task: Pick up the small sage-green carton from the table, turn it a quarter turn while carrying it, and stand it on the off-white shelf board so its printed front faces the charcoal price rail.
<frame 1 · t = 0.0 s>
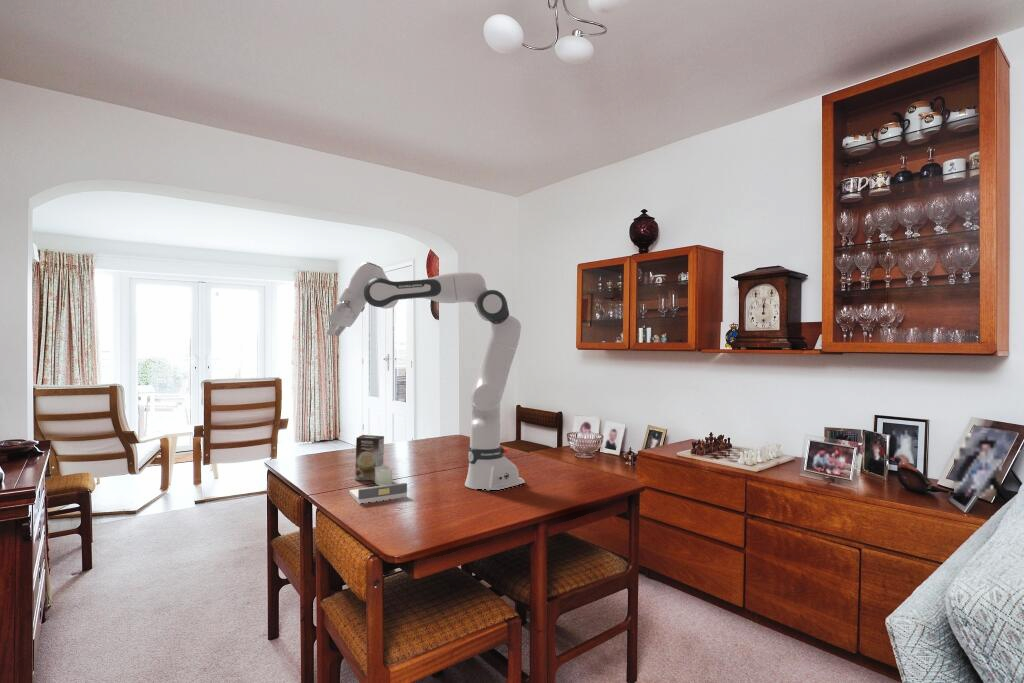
hand: (332, 335, 184), 54 cm above the table, tool tilted 30°, fingers open, 8 cm apart
carton: (383, 484, 186), on the table
coffee box: (369, 479, 194), on the table
shelf board: (377, 495, 172), on the table
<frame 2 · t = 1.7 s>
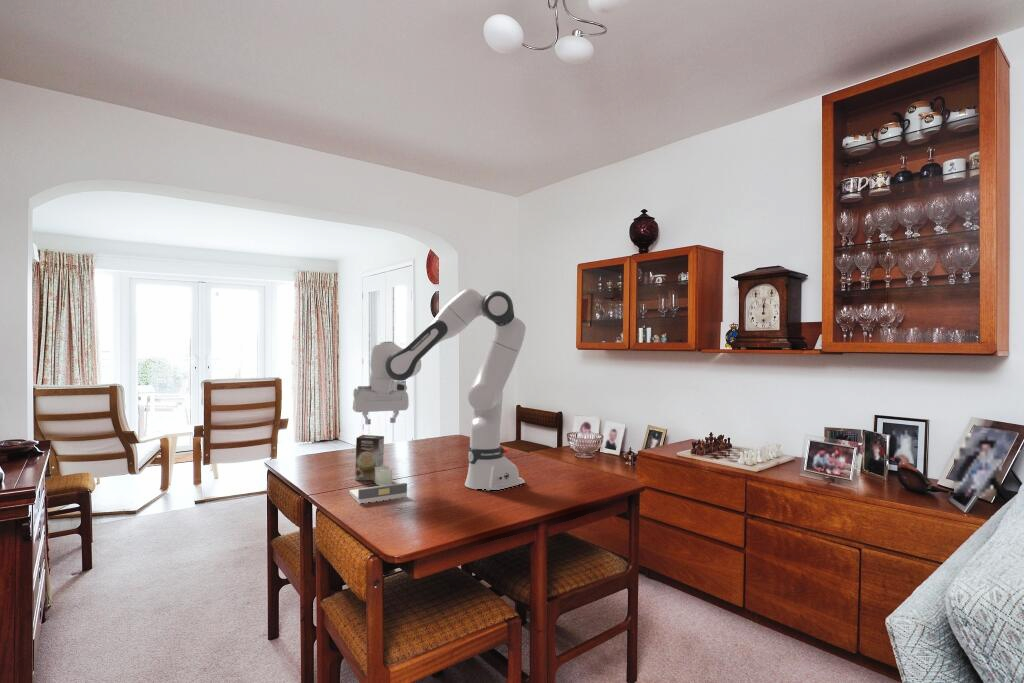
hand: (380, 423, 186), 22 cm above the table, tool pointing down, fingers open, 8 cm apart
nothing on the table moved.
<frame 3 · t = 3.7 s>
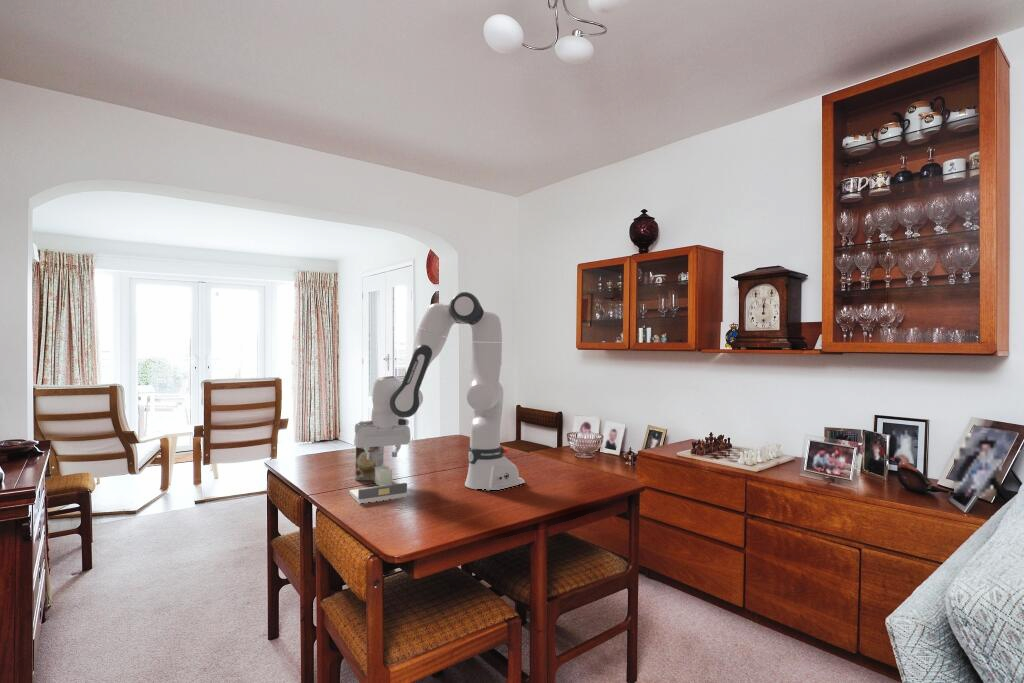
hand: (382, 458, 186), 10 cm above the table, tool pointing down, fingers open, 8 cm apart
nothing on the table moved.
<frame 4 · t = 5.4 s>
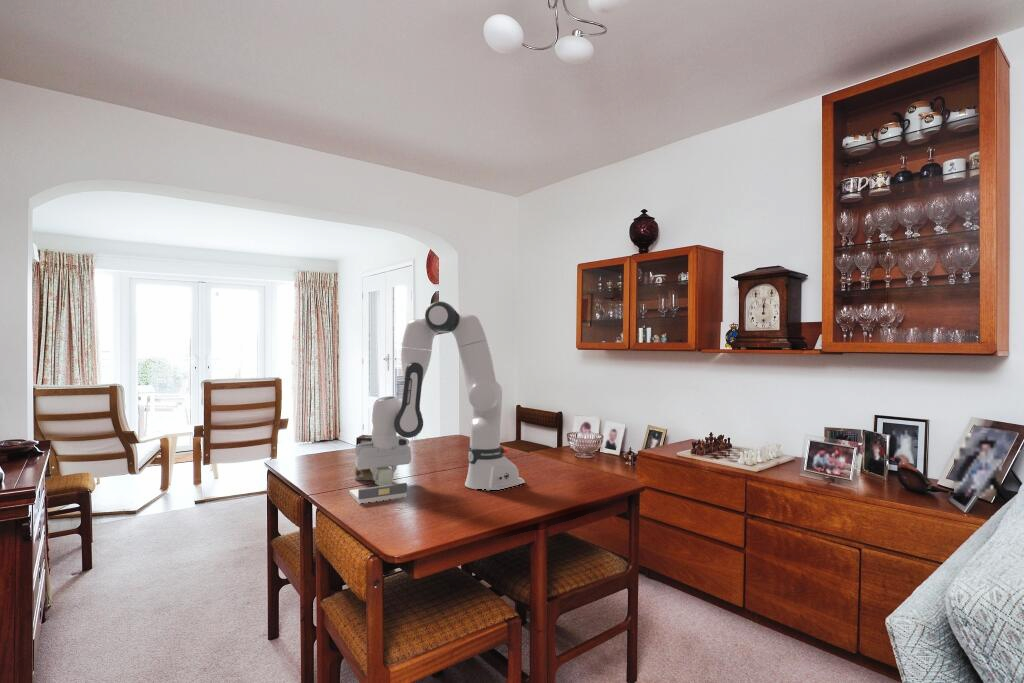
hand: (383, 478, 186), 2 cm above the table, tool pointing down, fingers closed on carton, 4 cm apart
carton: (383, 484, 186), on the table, touching gripper
everything else where it was.
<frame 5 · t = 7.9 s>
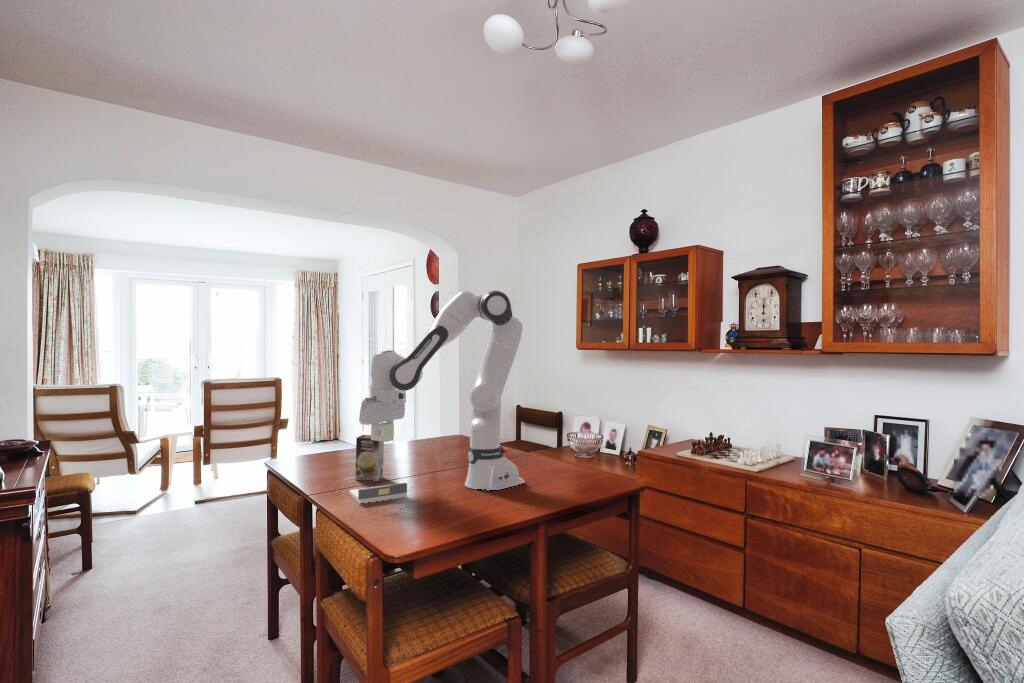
hand: (382, 434, 182), 19 cm above the table, tool pointing down, fingers closed on carton, 4 cm apart
carton: (382, 440, 182), point 17 cm above the table, touching gripper
everything else where it was.
when the fingers open (5 cm above the table, at t = 10.6 s): carton stays where it is, resting on shelf board.
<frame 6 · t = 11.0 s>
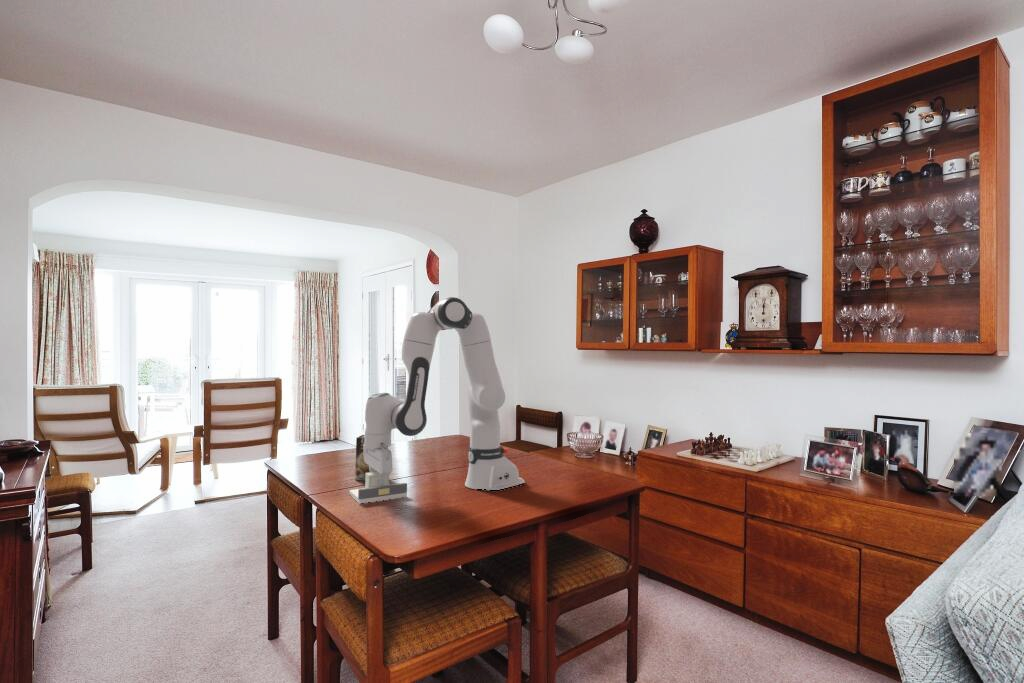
hand: (377, 481, 173), 5 cm above the table, tool pointing down, fingers open, 8 cm apart
carton: (377, 490, 173), point 1 cm above the table, touching shelf board
everything else where it was.
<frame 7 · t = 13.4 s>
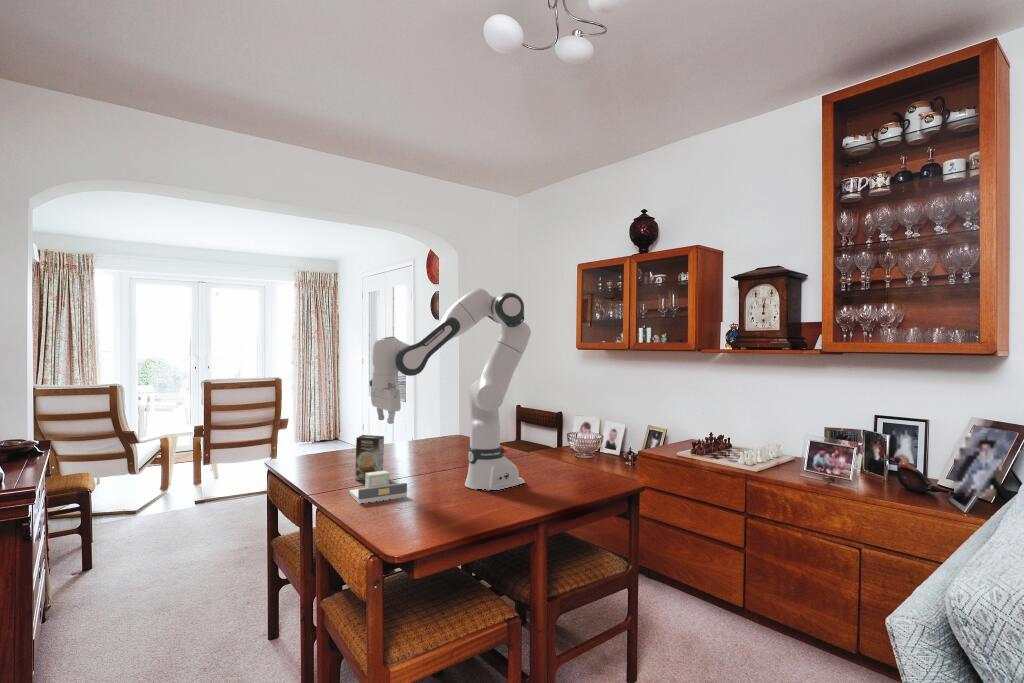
hand: (385, 421, 179), 24 cm above the table, tool pointing down, fingers open, 8 cm apart
nothing on the table moved.
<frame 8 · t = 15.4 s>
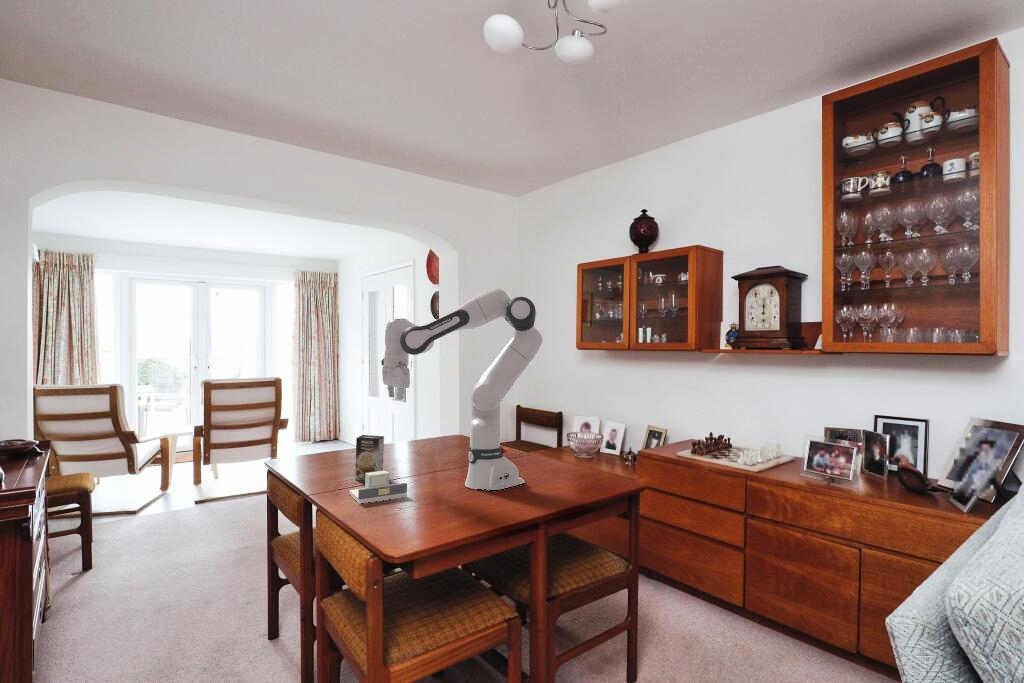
hand: (395, 398, 191), 31 cm above the table, tool pointing down, fingers open, 8 cm apart
nothing on the table moved.
at the end: carton inside the target area on the shelf board (0.2 cm from its centre), point 1.5 cm above the shelf board's base; carton tilted 0°; the gripper is holding nothing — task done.
